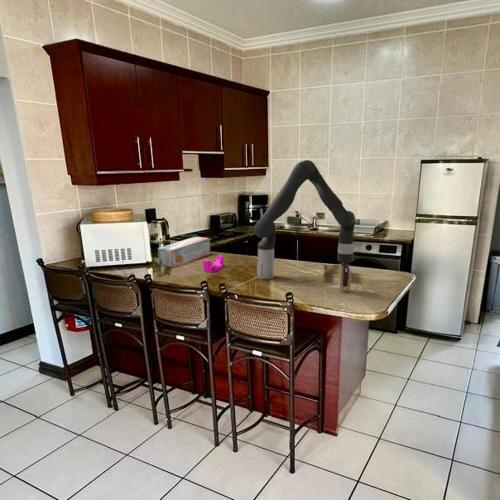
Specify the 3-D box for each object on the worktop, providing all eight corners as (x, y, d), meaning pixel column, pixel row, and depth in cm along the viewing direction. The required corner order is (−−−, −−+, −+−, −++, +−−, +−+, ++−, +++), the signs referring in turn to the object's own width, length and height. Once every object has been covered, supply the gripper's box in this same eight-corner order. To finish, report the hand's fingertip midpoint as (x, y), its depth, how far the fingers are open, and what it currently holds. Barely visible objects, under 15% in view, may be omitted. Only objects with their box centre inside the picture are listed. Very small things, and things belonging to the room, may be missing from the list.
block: (340, 289, 191) (340, 272, 189) (339, 286, 196) (339, 269, 194) (350, 289, 190) (350, 272, 188) (349, 286, 195) (350, 269, 193)
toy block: (211, 273, 234) (210, 261, 232) (203, 272, 238) (203, 260, 236) (227, 267, 246) (226, 256, 244) (219, 266, 249) (219, 255, 248)
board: (344, 301, 182) (344, 299, 182) (322, 288, 200) (322, 287, 200) (368, 296, 187) (368, 295, 187) (344, 284, 205) (344, 283, 205)
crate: (322, 282, 210) (322, 273, 209) (321, 272, 230) (322, 264, 228) (351, 283, 208) (351, 274, 207) (348, 272, 227) (348, 264, 226)
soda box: (196, 252, 289) (195, 236, 286) (211, 254, 282) (210, 237, 279) (158, 266, 255) (156, 247, 252) (174, 268, 248) (172, 249, 245)
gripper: (354, 255, 181) (353, 289, 185) (352, 248, 195) (351, 280, 199) (338, 255, 183) (338, 288, 186) (337, 248, 196) (336, 279, 200)
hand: (344, 284), depth 193 cm, fingers closed on block, 5 cm apart
